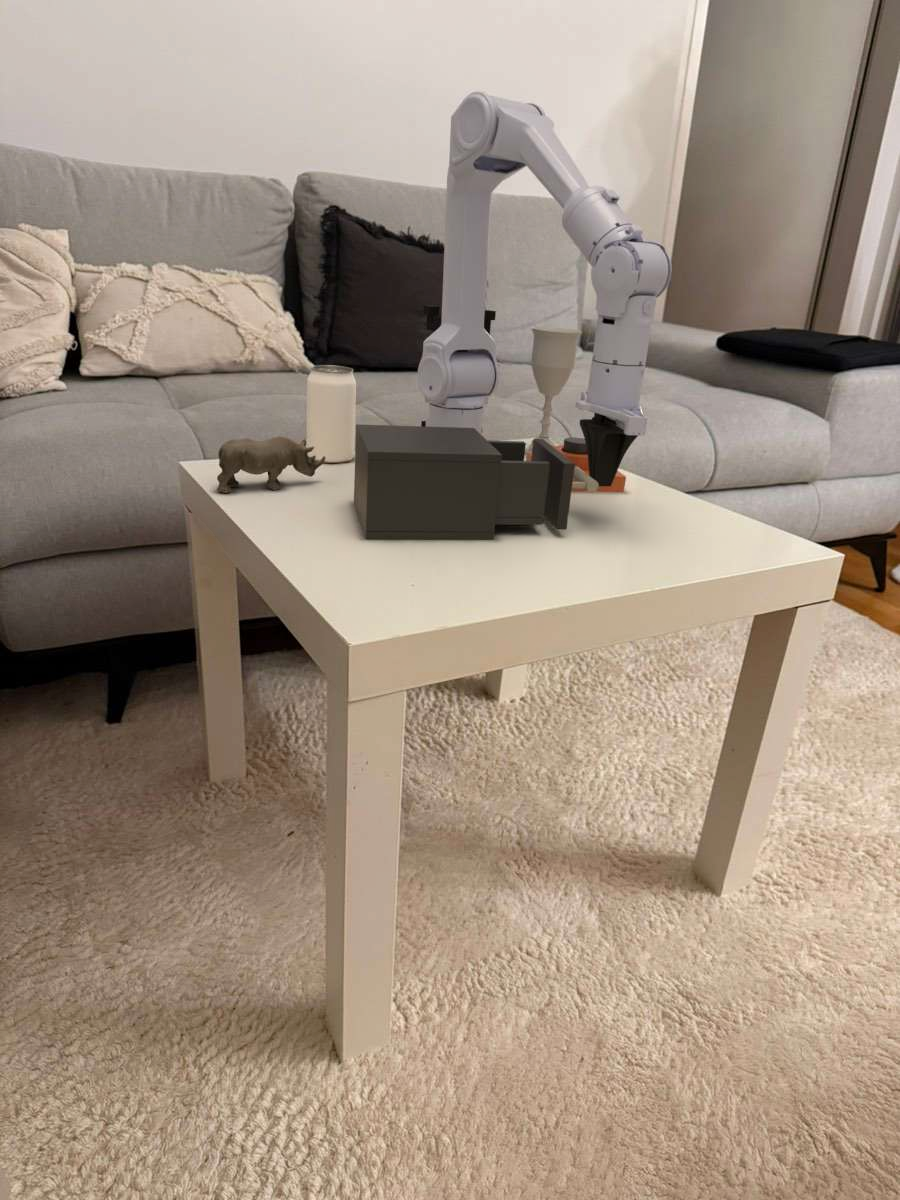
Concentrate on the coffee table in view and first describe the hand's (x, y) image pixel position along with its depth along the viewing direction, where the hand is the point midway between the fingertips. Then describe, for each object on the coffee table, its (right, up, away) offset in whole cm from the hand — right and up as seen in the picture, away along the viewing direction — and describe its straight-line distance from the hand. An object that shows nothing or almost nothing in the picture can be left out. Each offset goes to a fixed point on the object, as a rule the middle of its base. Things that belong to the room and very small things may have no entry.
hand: (600, 484), depth 97 cm
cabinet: (-20, -4, -3) cm, 21 cm away
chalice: (-3, +9, +31) cm, 33 cm away
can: (-34, +6, +20) cm, 40 cm away
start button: (0, +7, +17) cm, 18 cm away
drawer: (-10, -3, -1) cm, 10 cm away
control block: (0, +3, +19) cm, 19 cm away
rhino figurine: (-38, 0, +5) cm, 39 cm away
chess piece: (-17, +9, +28) cm, 34 cm away
